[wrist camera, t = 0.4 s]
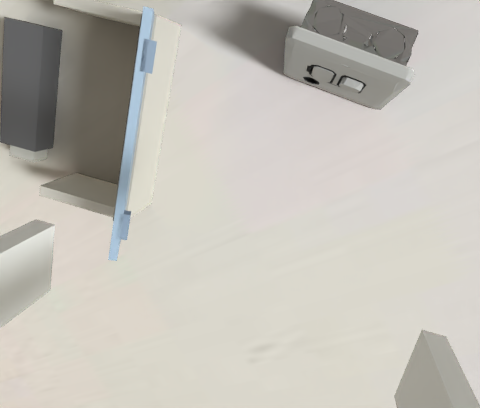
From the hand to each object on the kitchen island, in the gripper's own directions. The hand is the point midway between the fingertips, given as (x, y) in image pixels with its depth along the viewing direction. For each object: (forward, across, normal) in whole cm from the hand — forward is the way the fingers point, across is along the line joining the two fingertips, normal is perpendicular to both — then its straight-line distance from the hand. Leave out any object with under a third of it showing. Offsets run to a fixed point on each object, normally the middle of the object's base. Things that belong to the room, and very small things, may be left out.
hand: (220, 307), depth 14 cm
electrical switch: (+27, +2, +10) cm, 29 cm away
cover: (+17, -12, +1) cm, 21 cm away
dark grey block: (+27, -27, +2) cm, 38 cm away
